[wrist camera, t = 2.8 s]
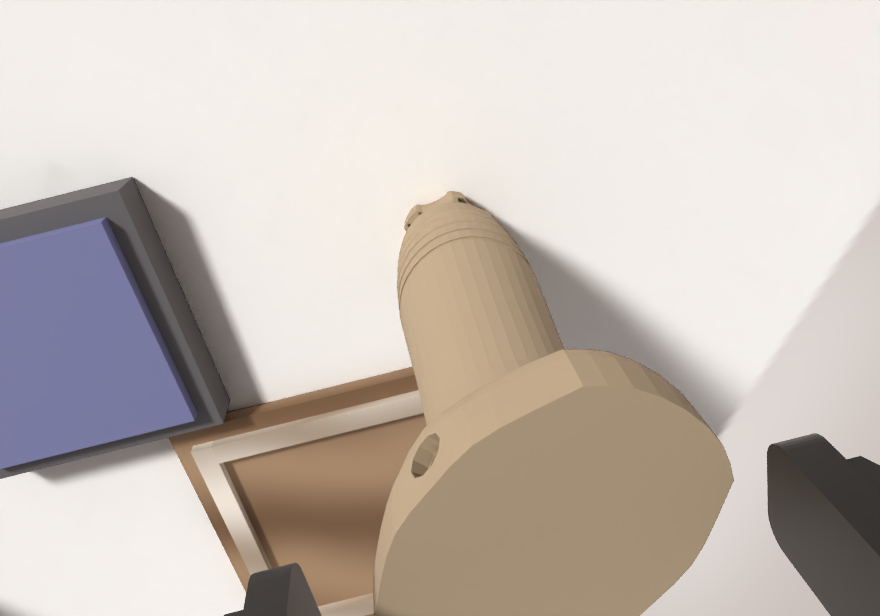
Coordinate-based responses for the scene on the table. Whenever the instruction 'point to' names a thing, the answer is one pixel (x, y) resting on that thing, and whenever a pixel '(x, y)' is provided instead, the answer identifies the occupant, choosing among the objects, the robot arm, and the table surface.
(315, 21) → the table surface
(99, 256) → the ink pad
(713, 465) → the handle
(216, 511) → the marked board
